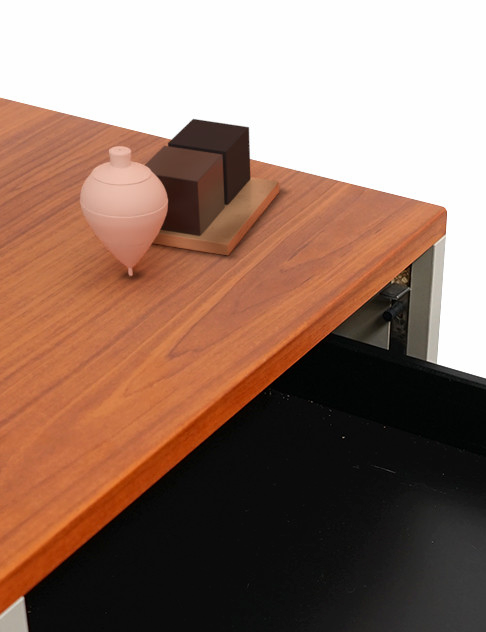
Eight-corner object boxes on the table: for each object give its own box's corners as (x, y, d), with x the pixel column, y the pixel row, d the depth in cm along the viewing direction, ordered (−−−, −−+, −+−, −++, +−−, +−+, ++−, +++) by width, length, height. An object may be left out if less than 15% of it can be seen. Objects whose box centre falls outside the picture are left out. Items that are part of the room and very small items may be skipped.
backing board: (110, 236, 135) (103, 170, 130) (170, 175, 147) (166, 112, 143) (228, 255, 133) (225, 188, 129) (279, 192, 145) (278, 129, 141)
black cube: (171, 196, 140) (167, 142, 136) (195, 170, 145) (192, 118, 142) (228, 205, 139) (225, 151, 136) (250, 179, 145) (249, 126, 141)
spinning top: (111, 251, 132) (99, 127, 125) (186, 266, 131) (178, 141, 123) (73, 285, 126) (58, 157, 119) (150, 301, 125) (140, 172, 118)
